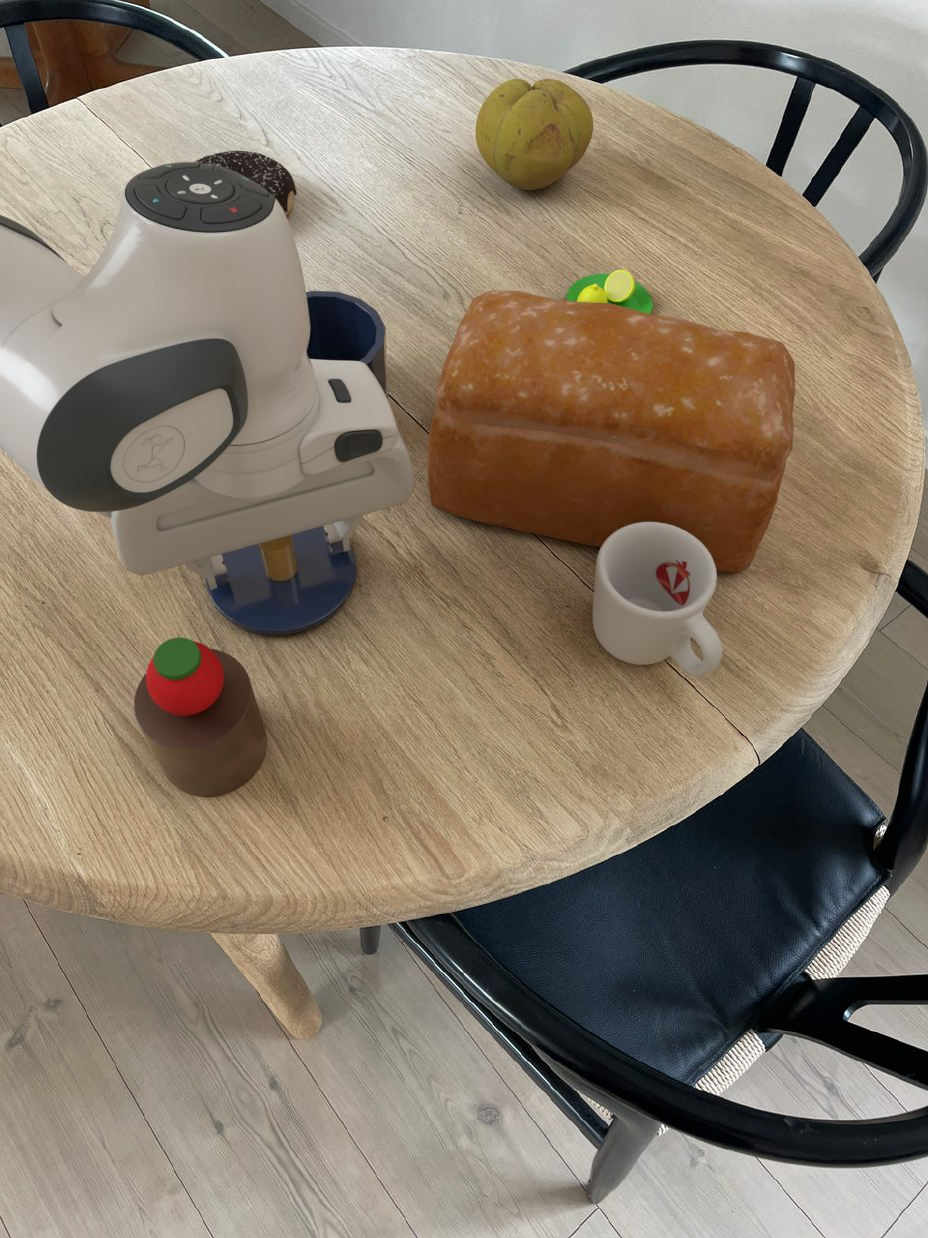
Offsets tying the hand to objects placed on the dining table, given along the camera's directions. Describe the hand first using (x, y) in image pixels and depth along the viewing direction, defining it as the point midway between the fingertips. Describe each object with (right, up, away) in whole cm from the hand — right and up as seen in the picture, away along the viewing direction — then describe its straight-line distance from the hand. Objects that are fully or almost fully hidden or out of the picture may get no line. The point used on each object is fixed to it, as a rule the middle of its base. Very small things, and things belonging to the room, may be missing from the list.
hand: (279, 563), depth 71 cm
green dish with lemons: (+27, +25, +20) cm, 42 cm away
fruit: (+20, +42, +31) cm, 56 cm away
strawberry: (-3, -9, -12) cm, 15 cm away
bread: (+24, +6, +8) cm, 26 cm away
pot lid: (0, -1, +1) cm, 1 cm away
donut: (-9, +37, +27) cm, 47 cm away
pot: (+2, +14, +12) cm, 19 cm away
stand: (-3, -13, -6) cm, 15 cm away
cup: (+27, -6, -1) cm, 28 cm away
